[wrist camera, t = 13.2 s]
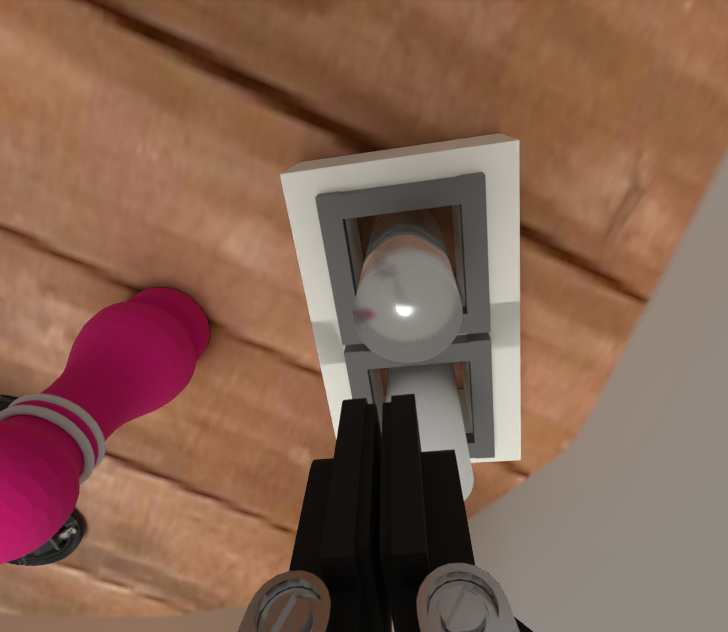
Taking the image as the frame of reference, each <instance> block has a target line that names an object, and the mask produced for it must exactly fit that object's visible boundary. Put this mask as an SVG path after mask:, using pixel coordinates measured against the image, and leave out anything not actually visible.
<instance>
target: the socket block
mask: <svg viewBox="0 0 728 632" xmlns="http://www.w3.org/2000/svg"><path fill="white" fill-rule="evenodd" d="M280 177H281V182H282V187H283V191H284V196H285V201H286V206H287V210H288V215H289V220H290V224H291V229H292V234H293V239H294V243H295V248H296V253H297V257H298V262H299V267H300V271H301V276H302V281H303V286H304V290H305V295H306V300H307V304H308V309H309V314H310V319H311V323H312V328H313V333H314V337H315V342H316V347H317V351H318V356H319V361H320V366H321V370H322V375H323V380H324V384H325V389H326V394H327V399H328V403H329V408H330V413H331V417H332V422H333V427H334V431H335V436H336V440H337V433H338V426H339V420H340V413H341V406H342V401H343V400H347V399H359V398H367V401H368V404H373V403H376V406H377V411H378V417H379V423H380V429H381V435H382V405H383V403H385V402H391V396H393V395H404V394H415V401H416V409H417V417H418V426H419V434H420V443H421V451H422V452H426V451H440V450H453V449H454V450H455V454H456V459H457V465H458V470H459V476H460V482H461V488H462V493H463V499H464V501H465V500H466V498H467V497H468V496H469V494H470V493H471V490H472V488H473V483H474V478H473V472H472V466H471V463H474V462H493V461H511V460H521V421H520V196H519V140H518V139H515V138H512V137H509V136H506V135H504V134H501V133H497V134H490V135H484V136H477V137H470V138H463V139H456V140H449V141H442V142H435V143H428V144H422V145H415V146H408V147H401V148H394V149H387V150H380V151H373V152H366V153H360V154H353V155H346V156H339V157H332V158H325V159H318V160H311V161H305V162H299V163H297V164H296V165H294V166H293V167H291V168H289V169H288V170H286V171H284V172H283V173H281V174H280ZM451 205H452V217H453V232H454V247H455V263H456V276H454V279H455V282H456V286H457V289H458V293H459V296H460V300H461V303H462V310H463V317H462V323H461V327H460V330H459V332H458V334H457V336H456V338H455V339H454V341H453V342H452V343H451V344H450V345H449V347H447V348H446V349H445V350H444V351H443V352H441V353H440V354H438V355H437V356H435V357H433V358H430V359H428V360H425V361H421V362H415V363H400V362H394V361H391V360H387V359H385V358H383V357H380V356H379V355H377V354H375V353H374V352H373V351H371V350H370V349H369V348H368V347H367V346H366V345H365V344H364V343H363V342H362V340H361V339H360V337H359V335H358V334H357V331H356V329H355V325H354V321H353V307H354V302H355V297H356V293H357V289H358V285H359V281H360V277H361V273H362V268H363V264H364V261H363V254H362V248H361V241H360V235H359V228H358V221H357V217H364V216H372V215H380V214H388V213H396V212H403V211H411V210H419V209H427V208H435V207H443V206H451ZM452 362H462V371H463V386H464V389H457V385H456V380H455V374H454V369H453V363H452ZM380 368H388V375H387V391H386V395H384V393H383V387H382V380H381V373H380Z"/></svg>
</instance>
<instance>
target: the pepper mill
mask: <svg viewBox="0 0 728 632" xmlns="http://www.w3.org/2000/svg"><path fill="white" fill-rule="evenodd" d="M209 339H210V329H209V324H208V321H207V319H206V317H205V315H204V312H203V311H202V310H201V308H200V307H199V306H198V305H197V304H196V302H194V301H193V300H192V299H190V298H189V297H188V296H187V295H185V294H183V293H181V292H179V291H176V290H174V289H170V288H163V287H154V288H149V289H146V290H143V291H141V292H139V293H138V294H137V295H135V296H134V297H132V298H131V299H130V300H128V301H127V302H121V303H117V304H114V305H111V306H109V307H107V308H104V309H102V310H101V311H100V312H98V313H97V314H96V315H95V316H94V317H93V318H91V319H90V320H89V321H88V322H87V323H86V324H85V325H84V327H83V328H82V330H81V331H80V333H79V335H78V336H77V338H76V340H75V342H74V344H73V346H72V349H71V352H70V355H69V358H68V362H67V365H66V368H65V370H64V372H63V373H62V375H61V376H60V377H59V378H58V379H57V380H56V381H55V382H54V383H53V384H52V385H51V386H49V387H48V388H47V389H46V390H44V391H43V392H41V393H40V394H29V395H25V396H22V397H20V398H18V399H17V400H15V401H13V402H12V403H11V404H10V405H9V407H8V408H6V409H4V410H2V411H0V564H3V563H6V562H9V561H12V560H15V559H18V558H20V557H23V556H25V555H27V554H29V553H31V552H33V551H34V550H36V549H37V548H39V547H40V546H41V545H43V544H44V543H46V542H47V541H48V540H49V539H51V538H52V537H53V536H54V535H55V534H56V533H57V532H58V531H59V529H60V528H61V527H62V526H63V525H64V523H65V522H66V521H67V520H68V518H69V517H70V515H71V514H72V512H73V511H74V508H75V505H76V502H77V499H78V495H79V485H80V484H81V483H83V482H84V481H85V480H86V479H87V478H88V477H89V476H90V474H91V473H92V471H93V469H95V468H96V467H97V466H98V465H99V464H100V463H101V461H102V459H103V458H104V454H105V447H106V445H105V441H106V439H107V438H108V437H109V436H110V435H111V434H112V433H113V432H114V431H115V430H116V429H117V428H119V427H120V426H122V425H123V424H124V423H126V422H128V421H131V420H133V419H135V418H138V417H140V416H143V415H145V414H148V413H150V412H153V411H155V410H157V409H159V408H160V407H162V406H164V405H165V404H167V403H168V402H170V401H171V400H173V399H174V398H175V397H176V396H177V395H178V394H179V393H180V392H181V391H182V390H183V389H184V388H185V387H186V386H187V385H188V383H189V381H190V380H191V378H192V376H193V373H194V370H195V363H196V361H197V360H198V359H199V357H200V356H201V355H202V354H203V352H204V351H205V349H206V348H207V345H208V343H209Z"/></svg>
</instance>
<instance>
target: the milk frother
mask: <svg viewBox="0 0 728 632" xmlns="http://www.w3.org/2000/svg"><path fill="white" fill-rule="evenodd" d="M15 400H17V399H14V398H10V397H1V396H0V411H2V410H4V409H6V408H8V407H9V405H10V404H11V403H12V402H13V401H15ZM82 535H83V528H82V525H81V522H80V520H79V518H78V516H77V515H76V514H75V513H74V512H72V514H71V515H70V517H69V518H68V520H67V521H66V522H65V523H64V525H63V526H62V527H61V528H60V529H59V531H58V532H57V533H56V534H55V535H54V536H53V537H52V538H51V539H49V540H48V541H47V542H46V543H44V544H43V545H41V546H40V547H39V548H37V549H36V550H34V551H33V552H31V553H29V554H27V555H25V556H23V557H20V558H18V559H15V560H12V561H9V562H7V563H11V564H16V565H26V566H30V565H31V566H37V565H46V564H50V563H54V562H57V561H60V560H62V559H64V558H66V557H67V556H68V555H70V554H71V553H72V552H73V551H74V550H75V549H76V548H77V546H78V545H79V543H80V541H81V539H82Z"/></svg>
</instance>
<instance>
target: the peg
mask: <svg viewBox="0 0 728 632" xmlns="http://www.w3.org/2000/svg"><path fill="white" fill-rule="evenodd" d="M462 317H463V310H462V303H461V300H460V296H459V293H458V289H457V286H456V282H455V279H454V275H453V272H452V268H451V265H450V261H449V257H448V254H447V250H446V247H445V243H444V240H443V236H442V233H441V229H440V226H439V223H438V221H437V219H436V217H435V216H434V215H433V213H432V212H431V211H429V210H428V209H419V210H411V211H403V212H396V213H388V214H380V215H379V216H378V217H377V219H376V220H375V222H374V225H373V227H372V231H371V235H370V240H369V244H368V248H367V252H366V256H365V260H364V264H363V268H362V273H361V277H360V281H359V285H358V289H357V293H356V297H355V302H354V307H353V321H354V325H355V329H356V331H357V334H358V335H359V337H360V339H361V340H362V342H363V343H364V344H365V345H366V346H367V347H368V348H369V349H370V350H371V351H373V352H374V353H375V354H377V355H379V356H380V357H383V358H385V359H387V360H391V361H394V362H400V363H415V362H421V361H425V360H428V359H430V358H433V357H435V356H437V355H438V354H440V353H441V352H443V351H444V350H445V349H446V348H447V347H449V345H450V344H451V343H452V342H453V341H454V339H455V338H456V336H457V334H458V332H459V330H460V327H461V323H462Z"/></svg>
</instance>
